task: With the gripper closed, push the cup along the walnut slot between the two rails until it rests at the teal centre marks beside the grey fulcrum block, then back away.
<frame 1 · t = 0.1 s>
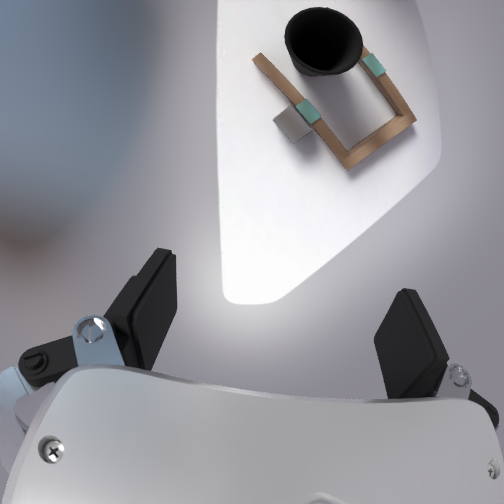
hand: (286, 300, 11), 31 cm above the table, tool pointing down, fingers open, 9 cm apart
cup: (311, 58, 31), on the table
beam slot: (333, 82, 32), on the table
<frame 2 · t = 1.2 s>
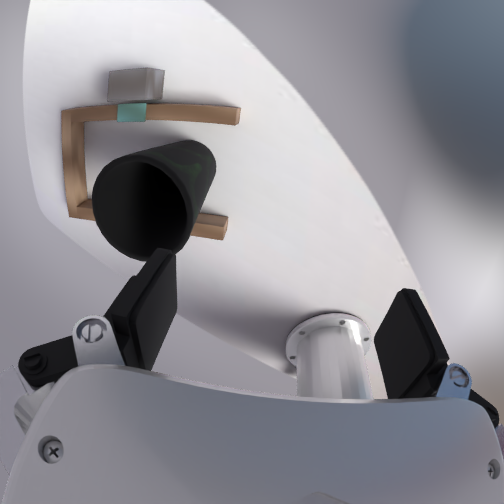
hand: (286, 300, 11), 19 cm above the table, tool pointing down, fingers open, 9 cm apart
cup: (190, 166, 28), on the table
beam slot: (149, 163, 27), on the table
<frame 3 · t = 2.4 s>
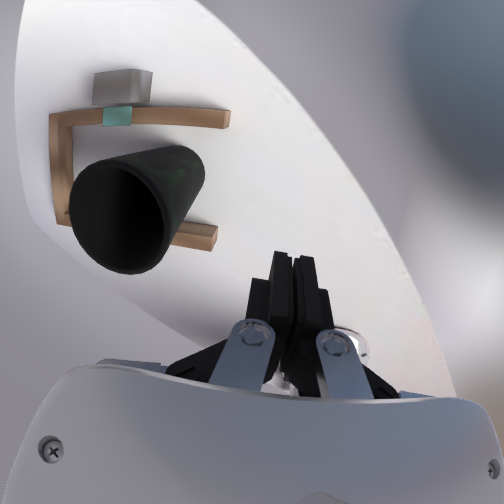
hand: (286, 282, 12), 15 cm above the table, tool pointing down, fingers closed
cup: (178, 172, 26), on the table
beam slot: (137, 169, 26), on the table
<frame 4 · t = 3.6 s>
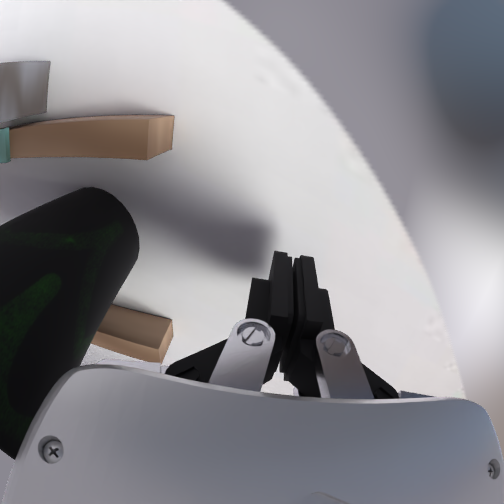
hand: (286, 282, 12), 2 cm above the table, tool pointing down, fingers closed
cup: (98, 233, 14), on the table
beam slot: (44, 224, 14), on the table
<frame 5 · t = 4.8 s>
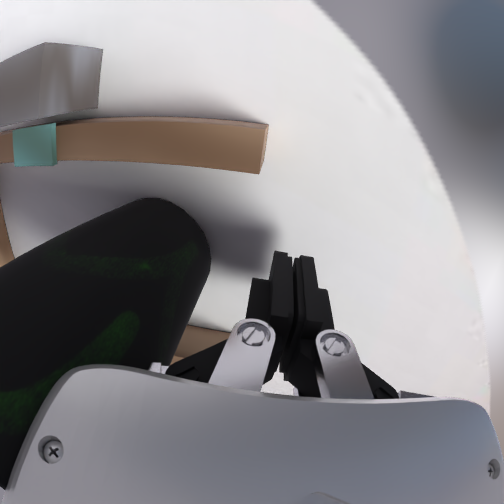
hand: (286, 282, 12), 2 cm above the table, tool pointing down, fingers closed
cup: (160, 249, 14), on the table, touching gripper
beam slot: (90, 236, 14), on the table
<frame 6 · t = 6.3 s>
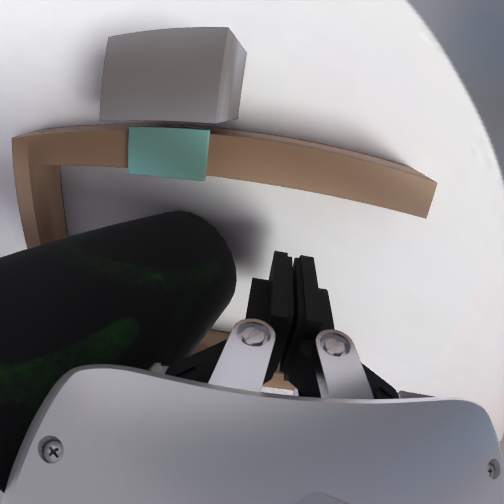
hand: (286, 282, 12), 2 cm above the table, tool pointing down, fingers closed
cup: (188, 264, 14), point 1 cm above the table, touching gripper
beam slot: (203, 258, 14), on the table
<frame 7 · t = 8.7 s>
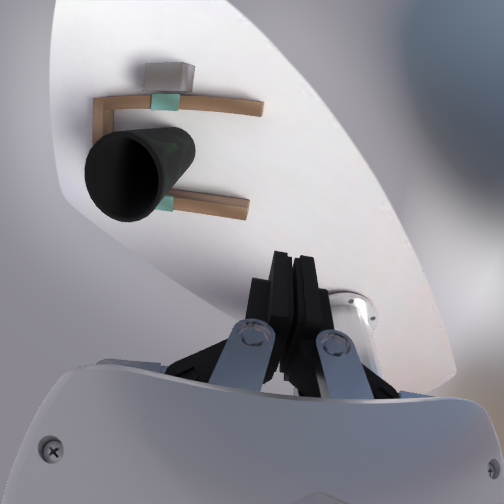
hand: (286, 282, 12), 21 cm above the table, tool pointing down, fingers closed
cup: (173, 150, 30), on the table
beam slot: (178, 149, 30), on the table
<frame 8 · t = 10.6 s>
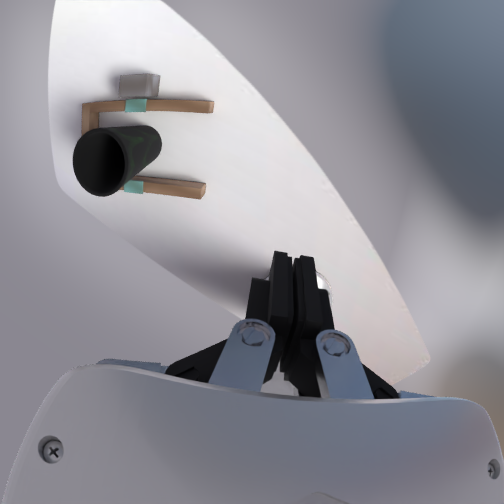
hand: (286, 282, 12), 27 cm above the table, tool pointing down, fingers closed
cup: (144, 144, 36), on the table
beam slot: (148, 143, 36), on the table
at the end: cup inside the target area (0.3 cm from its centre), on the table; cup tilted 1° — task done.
